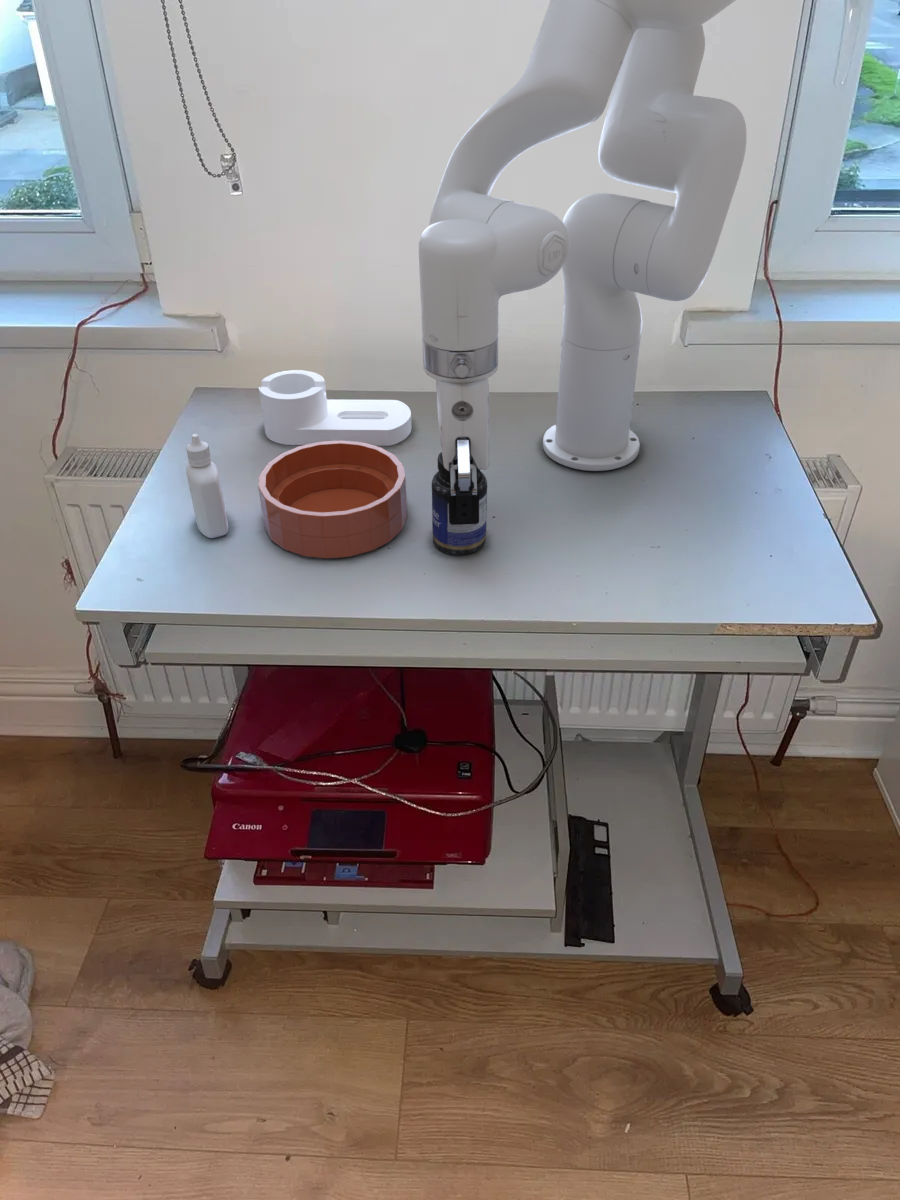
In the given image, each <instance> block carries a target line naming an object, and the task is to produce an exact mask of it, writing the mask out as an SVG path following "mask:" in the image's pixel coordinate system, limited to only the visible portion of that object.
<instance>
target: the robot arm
mask: <svg viewBox="0 0 900 1200" xmlns="http://www.w3.org/2000/svg"><path fill="white" fill-rule="evenodd" d="M736 1H737V0H550V1H549V4H548V6H547V9H546V11H545V14H544V17H543V20H542V23H541V25H540V27H539V31H538V34H537V36H536V38H535V39H536V40H535V42H534V45H533V47H532V49H531V53H530V56H529V58H528V61H527V63H526V67H525V69H524V71H523V74H522V76H521V77H520V79H519V80H518V81H517V83H516V84H515V85H513V87H512V88H510V89H509V90H507V92H505V93H504V94H503V95H501V96H500V97H499V98H498V99H497V100H496V101H495V102H494V103H492V104H491V105H490V106H489V107H488V108H487V109H486V110H485V111H484V112H483V113H482V114H481V115H480V116H479V117H478V118H477V119H476V121H474V123H473V124H472V125H471V126H470V127H469V128H468V129H467V131H466V132H465V133H464V134H463V135H462V137H461V138H460V139H459V141H458V142H457V144H456V146H455V147H454V149H453V150H452V152H451V154H450V157H449V158H448V162H447V164H446V167H445V170H444V172H443V175H442V177H441V181H440V183H439V185H438V189H437V192H436V196H435V198H434V201H433V205H432V208H431V212H430V217H429V224H428V226H427V227H426V228H424V230H422V233H421V235H420V237H419V240H418V268H419V288H420V289H419V290H420V314H421V315H420V316H421V336H422V337H421V339H422V340H421V341H422V364H423V365H422V367H423V371H424V373H425V374H426V375H427V376H428V377H429V378H432V379H434V380H435V389H436V390H435V391H436V392H435V393H436V408H437V409H436V410H437V421H438V422H437V423H438V433H439V442H440V449H441V452H442V457H443V464H444V468H445V469H446V470H448V471H449V469H450V482H451V491H448V497H449V523H450V524H451V525H463V524H478V523H479V490H477V471H476V469H477V467H478V469H480V470H484V471H486V470H487V471H488V469H489V468H490V465H491V464H490V462H491V461H490V386H489V385H490V384H489V378H490V377H492V376H493V375H495V373H497V371H498V368H499V319H500V316H499V315H500V314H499V313H500V299H501V297H502V296H505V295H509V294H514V293H519V292H524V291H529V290H533V289H536V288H540V287H542V286H543V285H545V284H546V283H548V282H550V281H551V280H552V279H553V278H554V277H555V276H557V274H558V273H559V272H560V271H561V272H562V281H563V282H562V283H563V314H562V315H563V316H562V330H561V331H562V332H561V344H560V360H559V374H558V375H559V376H558V388H557V389H558V390H557V403H556V419H555V424H554V425H551V426H550V427H549V428H548V429H547V430H546V431H545V433H544V435H543V437H542V448H543V451H544V453H545V454H546V455H547V456H548V457H549V458H550V459H551V460H552V461H554V462H556V463H557V464H560V465H562V466H564V467H567V468H570V469H574V470H580V471H586V472H603V471H604V472H605V471H612V470H617V469H620V468H622V467H626V465H629V464H630V463H632V462H633V461H634V460H635V459H636V458H637V457H638V455H639V453H640V447H641V444H640V439H639V437H638V436H637V434H636V433H635V432H634V431H633V430H632V429H630V428H631V419H632V412H633V406H634V397H635V396H634V394H635V386H636V380H637V378H636V377H637V372H638V371H637V370H638V364H639V363H638V362H639V357H640V356H639V355H640V347H641V346H640V345H641V339H642V331H643V313H642V308H641V305H640V301H639V297H638V295H637V294H640V295H644V296H648V297H653V298H656V299H660V300H665V301H671V302H680V301H685V300H688V299H690V298H691V297H692V296H693V295H695V294H696V293H697V292H698V290H699V289H700V288H701V286H702V284H703V283H704V281H705V279H706V277H707V275H708V272H709V269H710V267H711V265H712V263H713V259H714V255H715V253H716V250H717V246H718V244H719V241H720V237H721V234H722V231H723V228H724V225H725V222H726V218H727V216H728V213H729V210H730V206H731V204H732V201H733V197H734V194H735V190H736V187H737V184H738V181H739V179H740V174H741V172H742V167H743V164H744V160H745V155H746V149H747V124H746V121H745V118H744V116H743V113H742V111H741V110H740V108H739V107H737V106H736V105H735V104H734V103H732V102H730V101H728V100H725V99H722V98H717V97H710V96H704V95H695V94H694V92H695V89H696V84H697V81H698V77H699V75H700V70H701V65H702V62H703V59H704V55H705V51H706V38H705V31H704V27H703V24H705V23H706V22H708V21H710V20H711V19H713V17H716V16H717V15H718V14H719V13H721V12H722V11H724V10H725V9H726V8H727V7H729V6H730V5H732V4H733V3H734V2H736ZM608 102H609V103H608ZM607 105H608V107H607ZM606 108H607V110H606ZM605 110H606V113H605V118H604V121H603V126H602V128H601V129H602V130H601V132H600V133H601V134H600V137H599V143H598V151H597V159H598V164H599V166H600V169H601V170H602V171H603V173H604V174H606V176H608V177H609V178H612V179H614V180H616V181H619V182H622V183H626V184H630V185H634V186H639V187H644V188H647V189H648V188H649V189H653V190H657V191H658V190H659V191H664V192H668V193H674V194H676V197H675V203H674V206H673V205H667V204H663V203H657V202H654V201H650V200H647V199H641V198H636V197H631V196H626V195H621V194H615V193H607V192H605V193H604V192H601V193H599V192H598V193H592V194H587V195H585V196H583V197H581V198H578V199H577V200H576V201H574V202H573V203H572V204H571V206H570V207H569V208H568V209H567V211H566V213H565V215H564V216H563V219H561V218H560V217H559V216H558V215H556V214H555V213H554V212H552V211H549V210H547V209H545V208H542V207H539V206H535V205H530V204H527V203H521V202H517V201H513V200H510V199H505V198H501V197H496V196H493V195H490V194H491V192H492V190H493V188H494V185H495V183H496V182H497V180H498V178H499V177H500V175H501V174H502V173H503V171H504V170H505V169H506V168H507V166H509V165H510V164H511V163H512V162H513V161H514V160H515V159H516V158H518V157H519V156H520V155H521V154H523V153H524V152H526V151H528V150H530V149H532V148H533V147H536V146H537V145H540V144H542V143H545V142H547V141H550V140H552V139H556V138H558V137H560V136H563V135H566V134H569V133H571V132H574V131H576V130H579V129H582V128H584V127H587V126H589V125H591V124H593V123H595V122H596V121H597V120H599V118H600V117H601V116H602V115H603V113H604V111H605ZM453 459H454V460H458V464H453ZM470 459H472V463H473V464H470ZM470 471H471V478H472V479H470ZM455 472H458V480H456V481H455Z"/></svg>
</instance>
